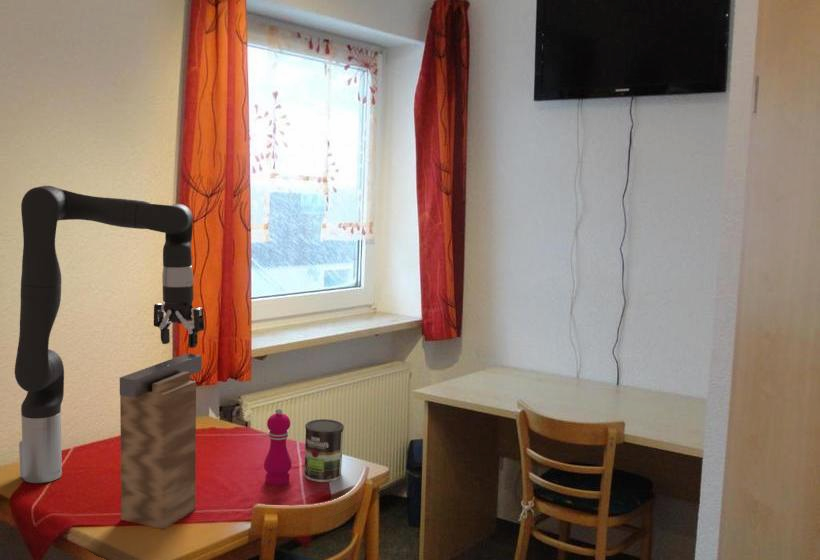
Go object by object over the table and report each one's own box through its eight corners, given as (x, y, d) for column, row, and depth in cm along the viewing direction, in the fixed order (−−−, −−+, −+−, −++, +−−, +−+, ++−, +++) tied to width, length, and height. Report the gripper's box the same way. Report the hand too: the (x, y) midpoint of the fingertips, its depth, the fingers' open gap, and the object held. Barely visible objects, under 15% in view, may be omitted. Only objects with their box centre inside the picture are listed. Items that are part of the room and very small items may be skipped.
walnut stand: (121, 519, 192) (120, 378, 187) (153, 499, 203) (153, 366, 198) (164, 529, 188) (164, 385, 183) (195, 509, 199) (196, 373, 194)
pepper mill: (285, 487, 214) (287, 413, 211) (259, 484, 216) (260, 410, 212) (294, 477, 221) (296, 405, 218) (269, 473, 223) (271, 402, 219)
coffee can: (331, 485, 217) (332, 434, 215) (296, 477, 221) (298, 427, 219) (348, 472, 227) (350, 422, 224) (315, 465, 230) (316, 416, 228)
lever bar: (119, 395, 181) (119, 377, 180) (187, 369, 204) (187, 353, 204) (134, 397, 180) (134, 380, 179) (201, 371, 203) (201, 355, 202)
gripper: (145, 282, 208) (147, 345, 211) (191, 288, 203) (192, 352, 205) (165, 279, 215) (166, 339, 218) (210, 283, 210) (210, 345, 212)
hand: (179, 345), depth 212 cm, fingers open, 8 cm apart
